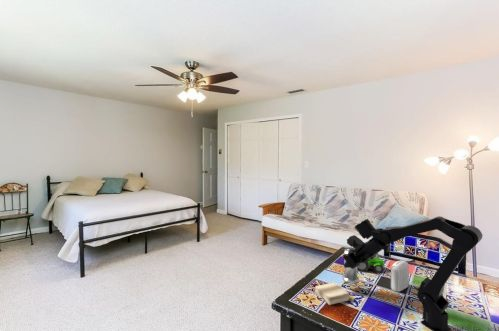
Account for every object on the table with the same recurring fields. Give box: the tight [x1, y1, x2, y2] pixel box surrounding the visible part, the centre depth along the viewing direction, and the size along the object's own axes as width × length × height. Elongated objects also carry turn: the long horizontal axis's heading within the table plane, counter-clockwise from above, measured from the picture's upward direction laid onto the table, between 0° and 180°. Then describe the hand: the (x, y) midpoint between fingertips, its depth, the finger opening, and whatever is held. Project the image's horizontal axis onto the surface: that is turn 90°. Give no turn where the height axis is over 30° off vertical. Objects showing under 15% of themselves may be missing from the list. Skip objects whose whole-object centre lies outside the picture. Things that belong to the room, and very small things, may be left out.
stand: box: [314, 281, 350, 306], centre depth 109 cm, size 10×10×3 cm
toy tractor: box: [357, 253, 385, 273], centre depth 136 cm, size 11×16×10 cm
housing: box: [342, 246, 360, 285], centre depth 114 cm, size 7×7×14 cm
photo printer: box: [390, 260, 410, 292], centre depth 116 cm, size 10×4×12 cm, turn 123°
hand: (348, 264), depth 115 cm, fingers closed on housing, 5 cm apart
